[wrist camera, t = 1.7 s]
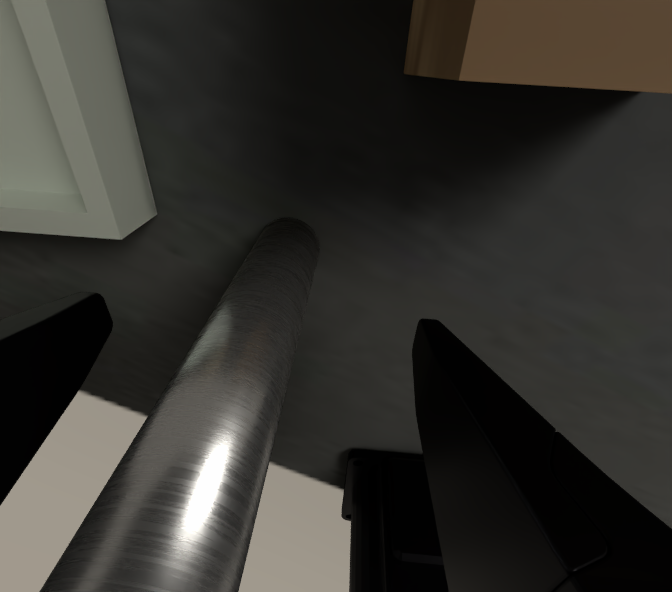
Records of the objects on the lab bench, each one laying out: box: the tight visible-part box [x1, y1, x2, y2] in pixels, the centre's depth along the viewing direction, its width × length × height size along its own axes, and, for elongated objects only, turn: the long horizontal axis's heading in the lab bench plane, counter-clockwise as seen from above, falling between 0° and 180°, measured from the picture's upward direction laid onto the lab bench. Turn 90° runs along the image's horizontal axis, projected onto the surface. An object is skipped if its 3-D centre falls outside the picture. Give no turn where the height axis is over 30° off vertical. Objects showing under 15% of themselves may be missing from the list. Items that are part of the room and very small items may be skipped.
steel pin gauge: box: [40, 218, 320, 592], centre depth 7 cm, size 2×2×10 cm
